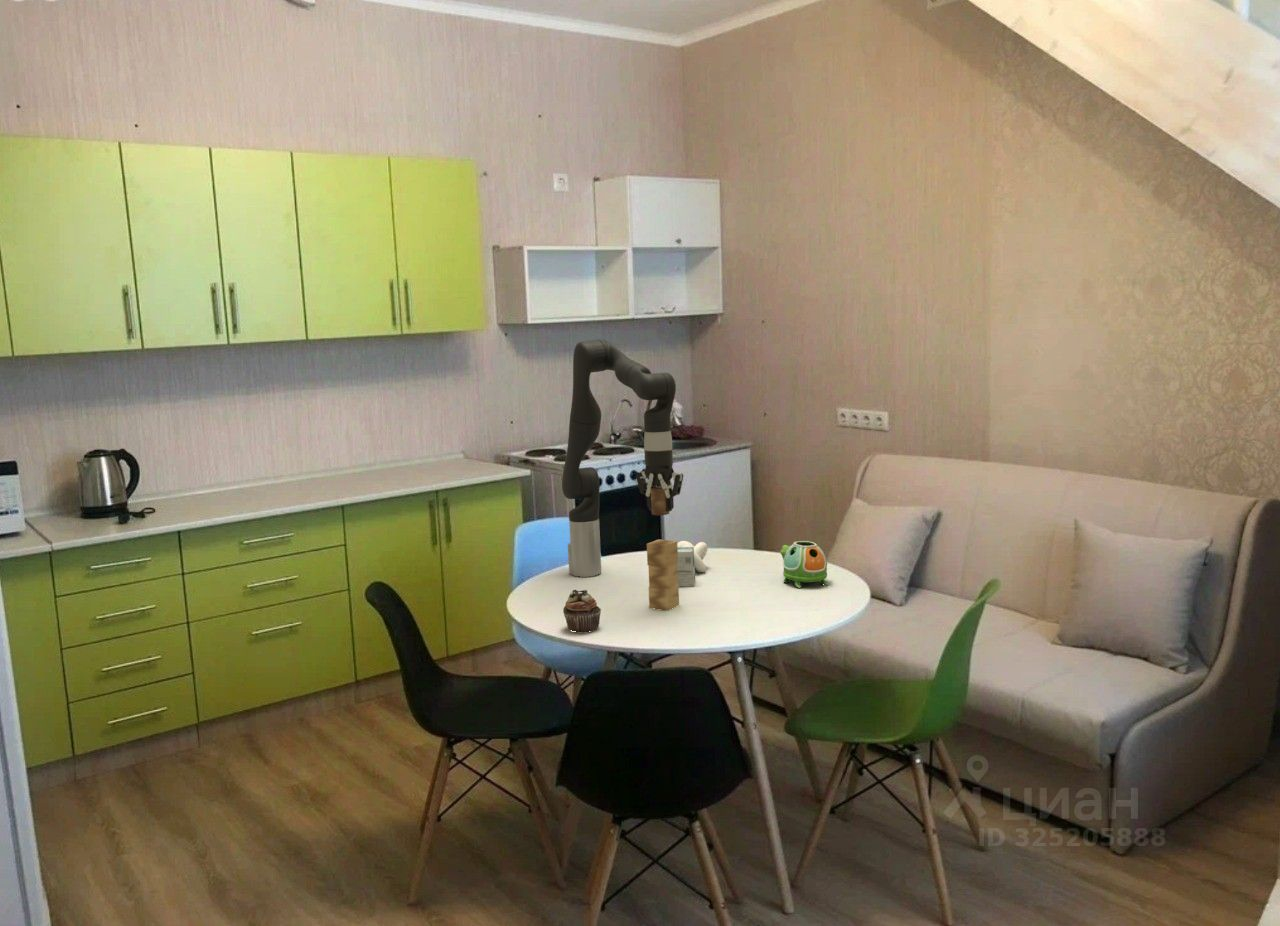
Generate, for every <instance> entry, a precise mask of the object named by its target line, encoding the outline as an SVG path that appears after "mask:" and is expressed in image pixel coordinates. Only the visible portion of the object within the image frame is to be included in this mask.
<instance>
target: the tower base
mask: <svg viewBox="0 0 1280 926" xmlns="http://www.w3.org/2000/svg"><path fill="white" fill-rule="evenodd" d="M679 588H680V587H679V584H676V585H675V586H674V587H672V588H671V589H660V588H649V587H648V603H649V604H648V605H649V607H648V608H655V609H654V610H657V609H661V610H660V611H665V610H668V611H667V612H670V611H671V610H673V609H675V608H677V607H679V606H680V594H679V593H680V592H679V590H680V589H679ZM678 605H679V606H678ZM676 606H677V607H676ZM674 607H675V608H674ZM672 608H673V609H672ZM670 609H671V610H670ZM669 610H670V611H669Z"/></svg>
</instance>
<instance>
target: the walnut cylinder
mask: <svg viewBox="0 0 1280 926" xmlns="http://www.w3.org/2000/svg"><path fill="white" fill-rule="evenodd" d="M666 498H667V497H666V494H665V491H664V490H663V488H662V486H659V485H658V486H657V487H654V488H651V510H650V512H651V515H652V516H666V515H669V514H670V512H667V511H666Z"/></svg>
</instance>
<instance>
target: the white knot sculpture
mask: <svg viewBox="0 0 1280 926" xmlns="http://www.w3.org/2000/svg"><path fill="white" fill-rule="evenodd" d="M677 546H678V547H691V546H693V547H694V563H695V571H697V572H698V573H701V572H702V573H704V572H705V571H706V568H707V567H706V565H705V563H704V561H703V560H704V558H705V557H706V555H707V554H708V545H707V543H706V542H703V541H699V542H697V543H696V544H695V545H693V544H692V543H691V542H690V541H687V540H681V541H677Z"/></svg>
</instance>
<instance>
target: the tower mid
mask: <svg viewBox="0 0 1280 926" xmlns="http://www.w3.org/2000/svg"><path fill="white" fill-rule="evenodd" d="M647 566H648V565H647ZM676 584H678V578H677V564H674V565H672V566H669V567H667V568H664V567H656V566H648V589H649V588H660V589H671V588H672V587H674V586H675V585H676Z"/></svg>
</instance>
